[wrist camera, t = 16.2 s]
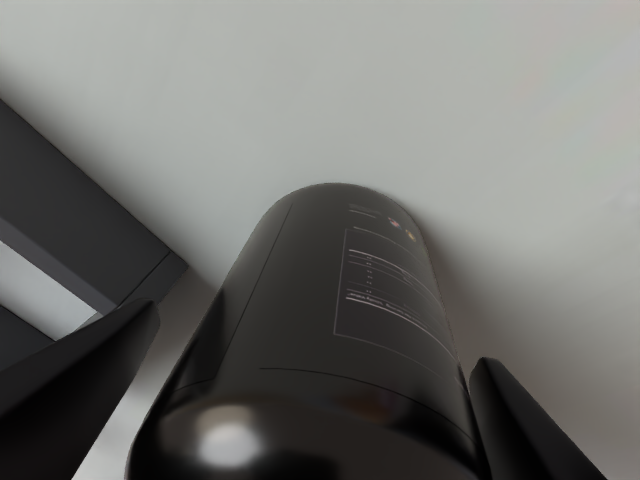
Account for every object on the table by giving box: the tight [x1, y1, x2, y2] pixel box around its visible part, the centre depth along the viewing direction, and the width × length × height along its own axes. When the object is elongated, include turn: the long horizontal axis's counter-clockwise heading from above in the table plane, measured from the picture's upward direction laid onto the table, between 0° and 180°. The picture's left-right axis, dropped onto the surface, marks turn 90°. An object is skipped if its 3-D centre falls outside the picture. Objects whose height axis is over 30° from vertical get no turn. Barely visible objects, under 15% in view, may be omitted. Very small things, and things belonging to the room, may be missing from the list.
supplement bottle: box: [124, 183, 493, 480], centre depth 8 cm, size 7×7×12 cm
